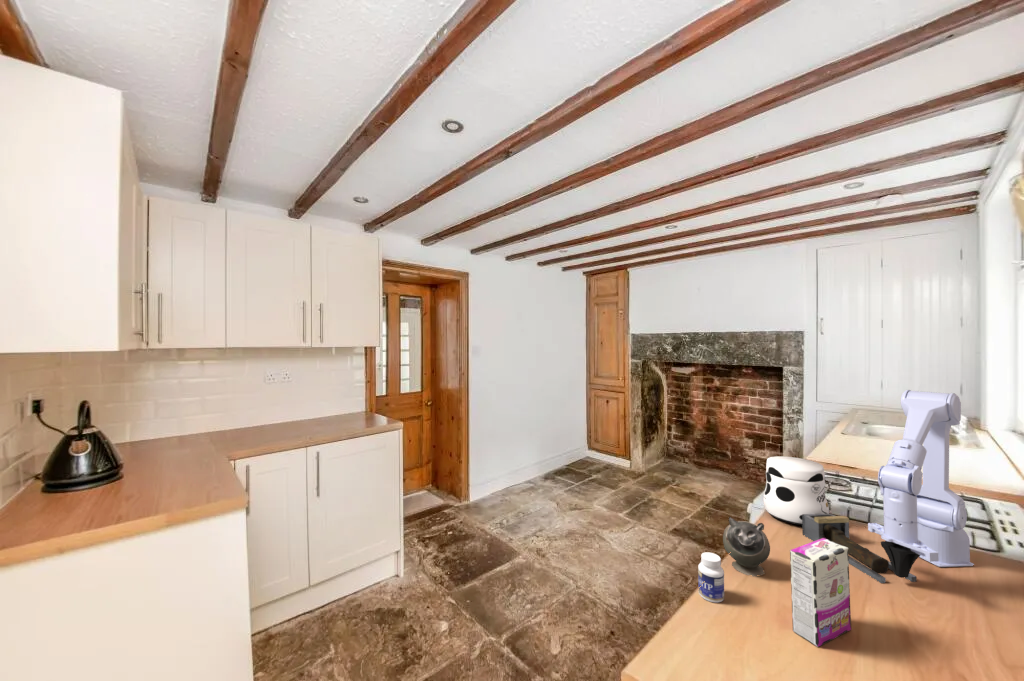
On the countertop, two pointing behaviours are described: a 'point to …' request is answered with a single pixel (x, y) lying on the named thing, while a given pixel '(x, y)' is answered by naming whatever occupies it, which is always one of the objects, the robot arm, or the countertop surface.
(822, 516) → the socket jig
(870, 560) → the dark brown log
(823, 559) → the candy bar box
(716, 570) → the pill bottle
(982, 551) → the countertop surface
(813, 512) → the white spotted cookie jar
